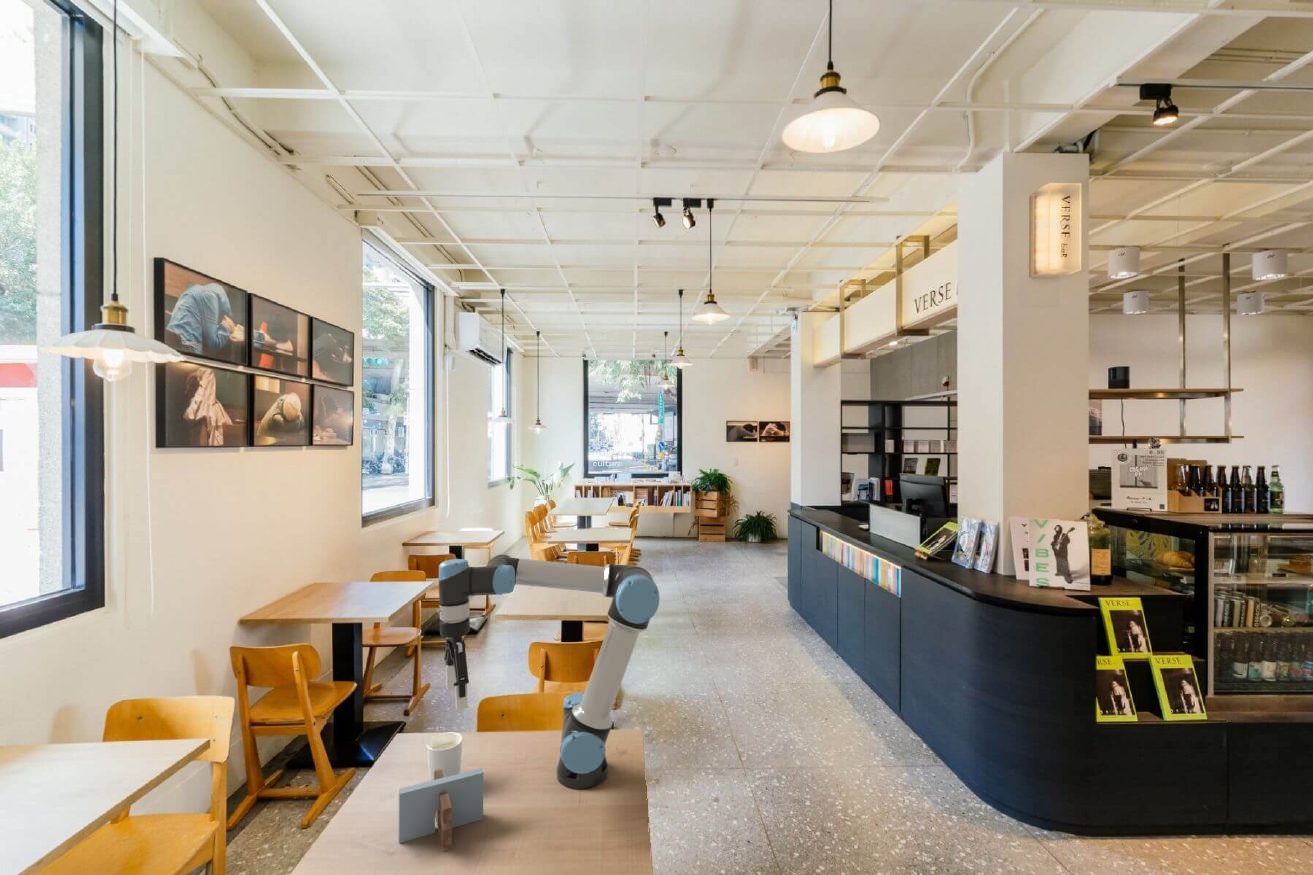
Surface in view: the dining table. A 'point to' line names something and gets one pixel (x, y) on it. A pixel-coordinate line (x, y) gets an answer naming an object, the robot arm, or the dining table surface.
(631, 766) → the dining table surface
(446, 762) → the candle holder
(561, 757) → the robot arm
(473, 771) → the slate plate
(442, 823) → the walnut rail
